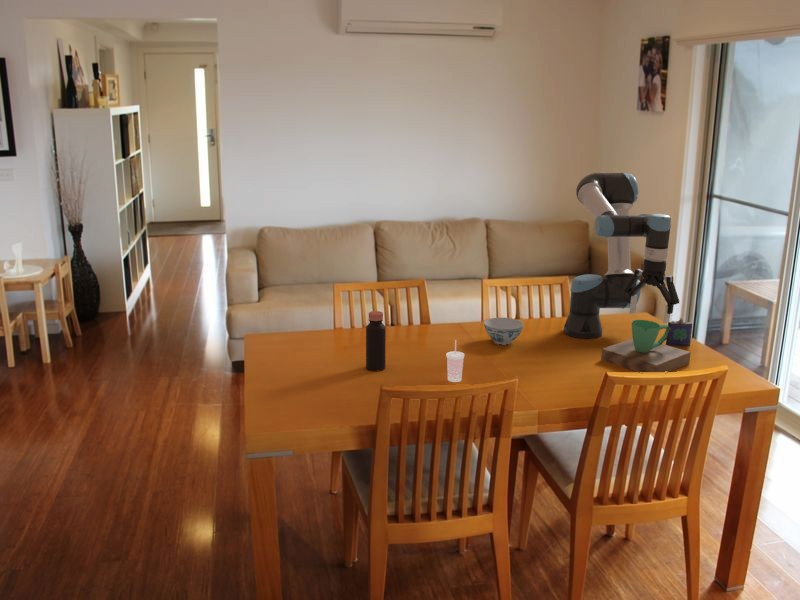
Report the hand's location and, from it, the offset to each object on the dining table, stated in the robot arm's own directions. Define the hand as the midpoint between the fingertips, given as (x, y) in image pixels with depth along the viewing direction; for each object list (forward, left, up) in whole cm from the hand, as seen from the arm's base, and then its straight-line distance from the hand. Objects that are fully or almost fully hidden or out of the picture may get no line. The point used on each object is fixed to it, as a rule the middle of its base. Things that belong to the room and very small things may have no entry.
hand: (649, 317), depth 271 cm
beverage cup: (-30, -66, -17) cm, 74 cm away
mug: (+1, 0, -12) cm, 12 cm away
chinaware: (-47, -24, -17) cm, 55 cm away
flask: (-3, +27, -17) cm, 32 cm away
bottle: (-55, -80, -17) cm, 99 cm away
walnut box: (0, 0, -17) cm, 17 cm away
